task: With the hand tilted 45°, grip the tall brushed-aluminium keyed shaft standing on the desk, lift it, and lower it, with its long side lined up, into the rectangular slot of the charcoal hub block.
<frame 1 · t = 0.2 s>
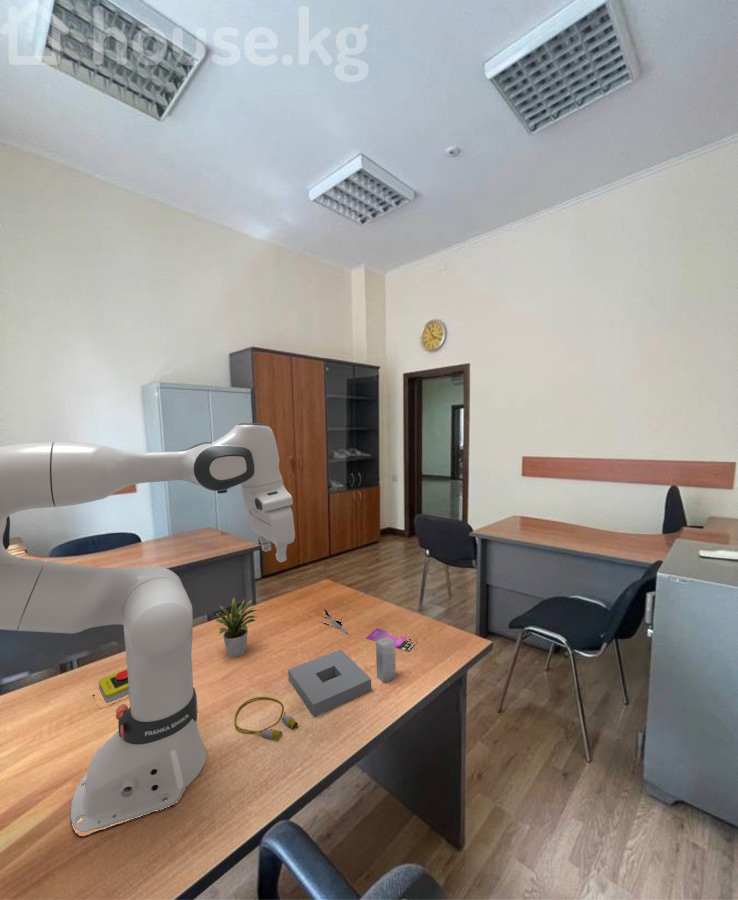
hand: (274, 555, 87), 39 cm above the table, tool pointing down, fingers open, 8 cm apart
keyed shaft: (386, 677, 104), on the table
toy airplane: (332, 623, 135), on the table
emergency button: (129, 688, 104), on the table
smartphone: (392, 641, 122), on the table
extension cord: (263, 722, 90), on the table
hub block: (329, 685, 102), on the table
house plant: (235, 655, 116), on the table
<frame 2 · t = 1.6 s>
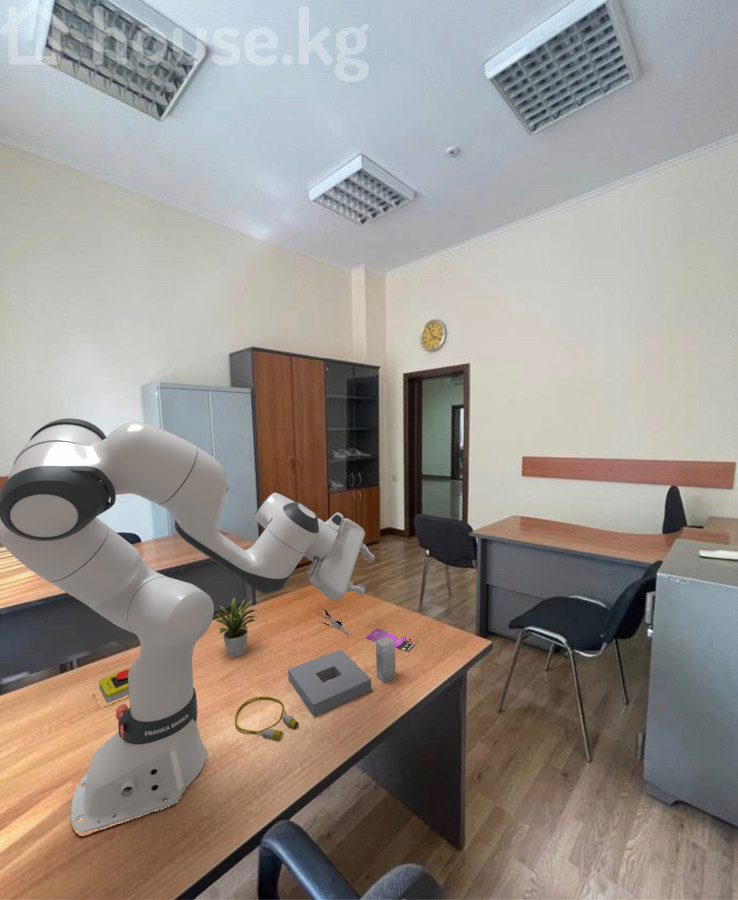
hand: (368, 575, 92), 32 cm above the table, tool tilted 50°, fingers open, 8 cm apart
nothing on the table moved.
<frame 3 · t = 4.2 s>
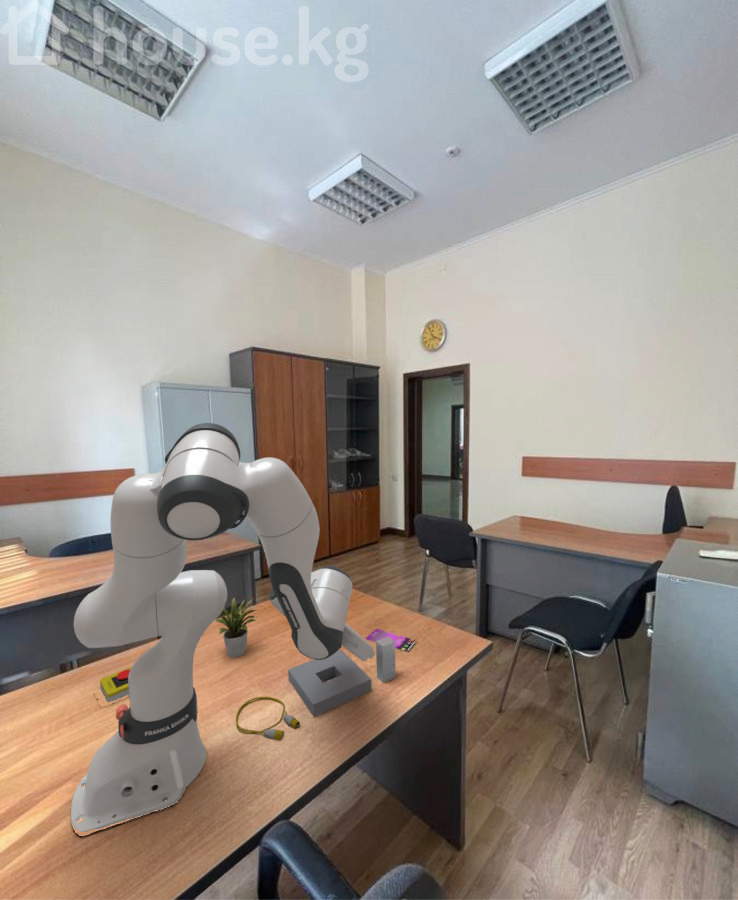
hand: (362, 645, 98), 12 cm above the table, tool tilted 45°, fingers open, 8 cm apart
nothing on the table moved.
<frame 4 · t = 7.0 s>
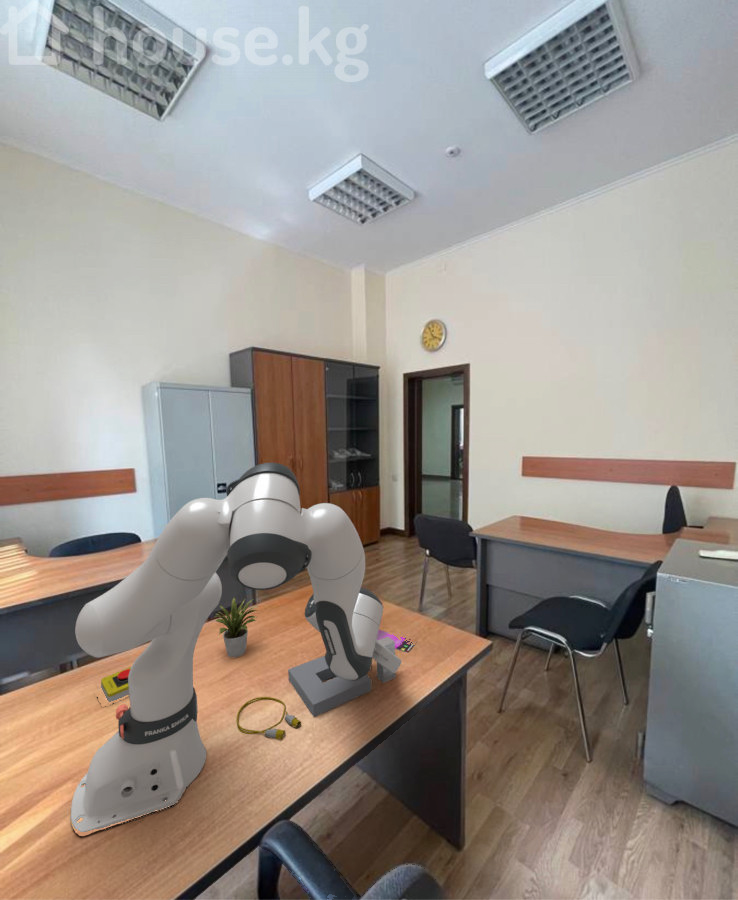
hand: (387, 657, 104), 5 cm above the table, tool tilted 45°, fingers closed on keyed shaft, 3 cm apart
keyed shaft: (386, 677, 104), on the table, touching gripper
everything else where it was.
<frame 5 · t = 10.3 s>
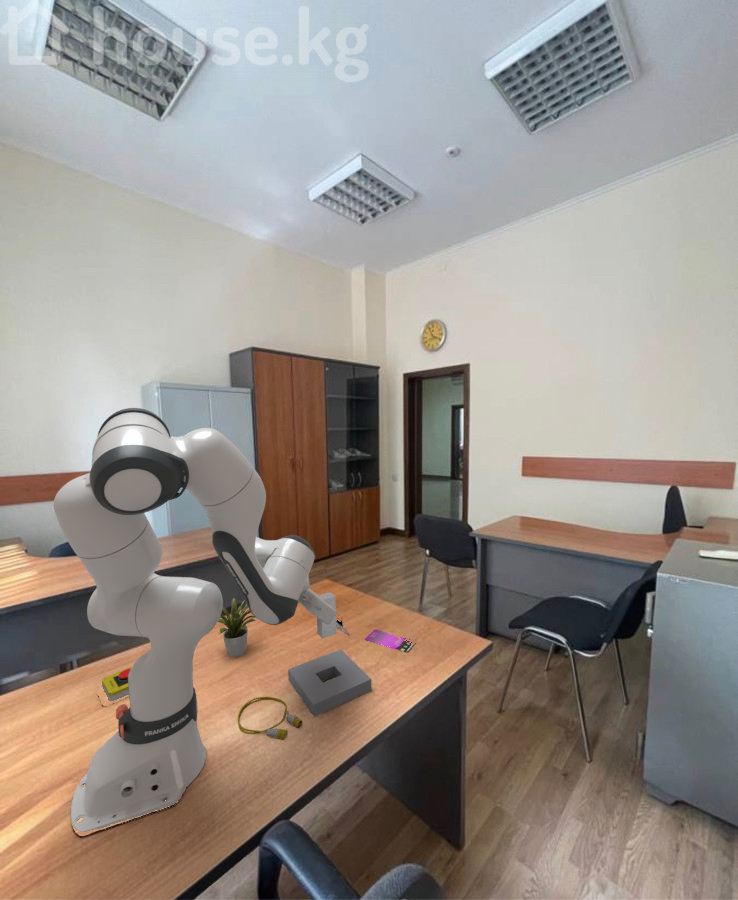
hand: (328, 612, 101), 19 cm above the table, tool tilted 45°, fingers closed on keyed shaft, 3 cm apart
keyed shaft: (326, 633, 101), point 14 cm above the table, touching gripper
everything else where it was.
when the fingers open (7 cm above the table, at t = 13.9 s): keyed shaft drops 1 cm, resting in hub block.
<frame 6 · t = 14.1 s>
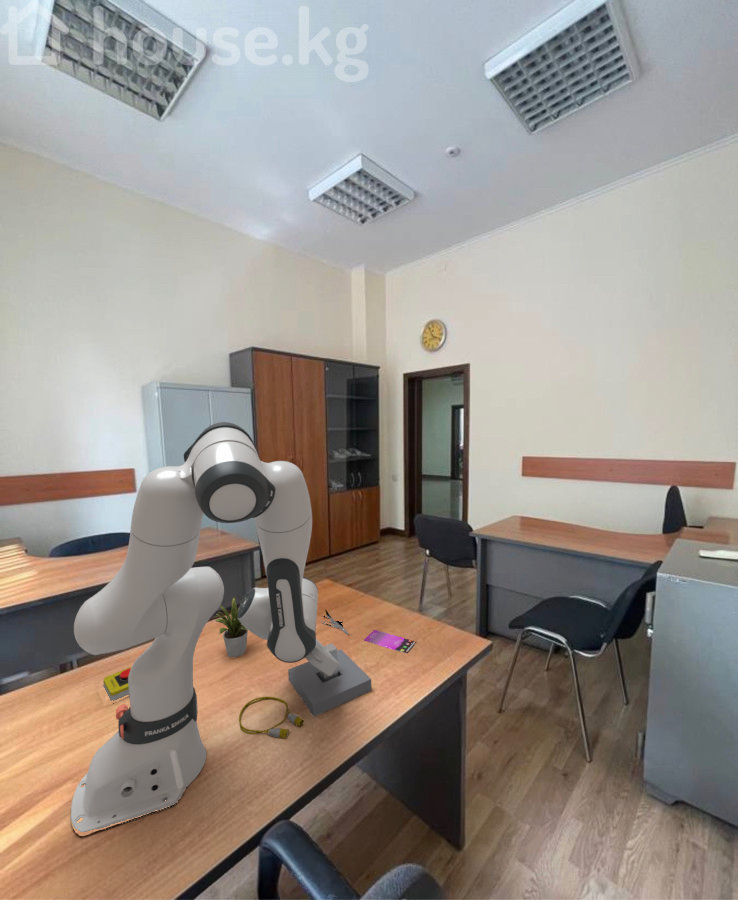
hand: (330, 659, 102), 7 cm above the table, tool tilted 45°, fingers open, 5 cm apart
keyed shaft: (329, 685, 102), resting in hub block
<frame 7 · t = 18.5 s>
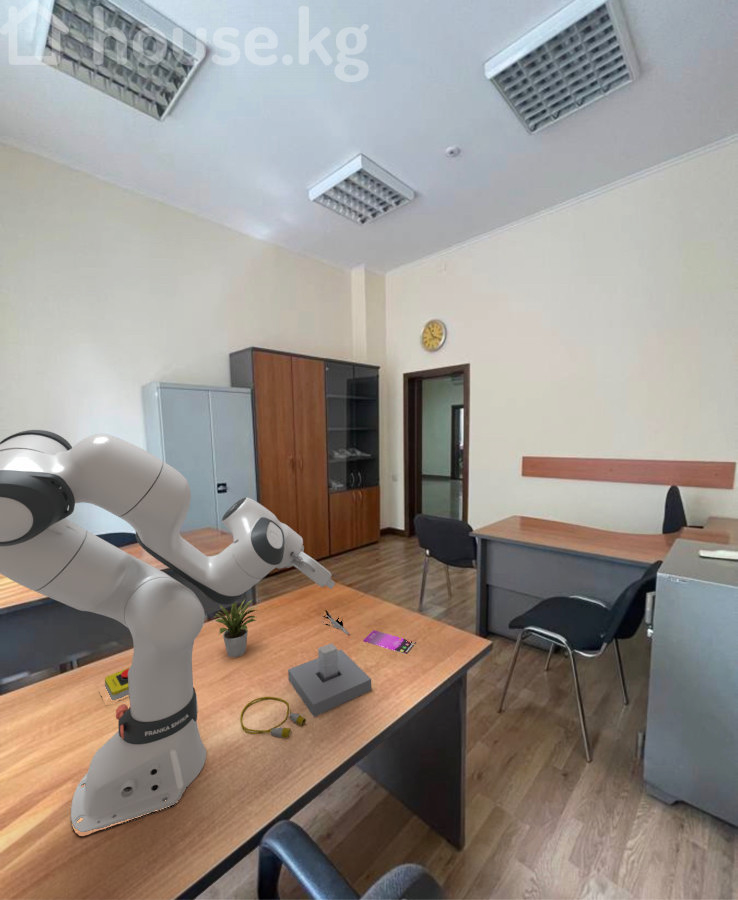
hand: (323, 578, 97), 29 cm above the table, tool tilted 45°, fingers open, 8 cm apart
at the end: keyed shaft 0.0 cm off-centre on the hub block, point 0.0 cm above the hub block's base; keyed shaft tilted 0°; the gripper is holding nothing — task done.
